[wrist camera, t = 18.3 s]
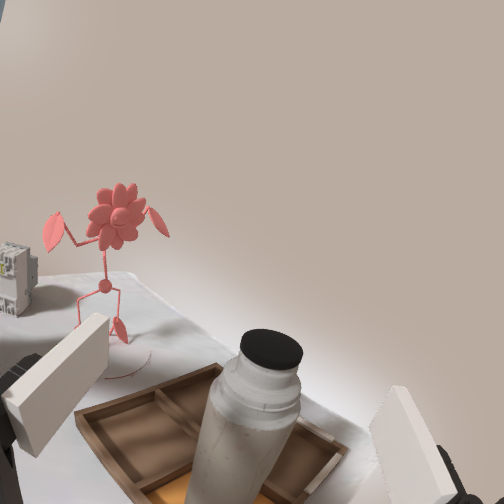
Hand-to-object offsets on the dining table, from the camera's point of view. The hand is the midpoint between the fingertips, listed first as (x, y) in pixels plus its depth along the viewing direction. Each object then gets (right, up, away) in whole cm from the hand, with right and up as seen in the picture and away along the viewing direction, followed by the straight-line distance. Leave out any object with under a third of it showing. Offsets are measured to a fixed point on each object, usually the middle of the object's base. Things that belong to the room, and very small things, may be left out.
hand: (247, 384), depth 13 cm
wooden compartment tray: (-6, -26, +28) cm, 39 cm away
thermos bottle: (-5, -28, +18) cm, 33 cm away
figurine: (-29, -16, +45) cm, 56 cm away
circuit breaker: (-59, -7, +50) cm, 78 cm away
